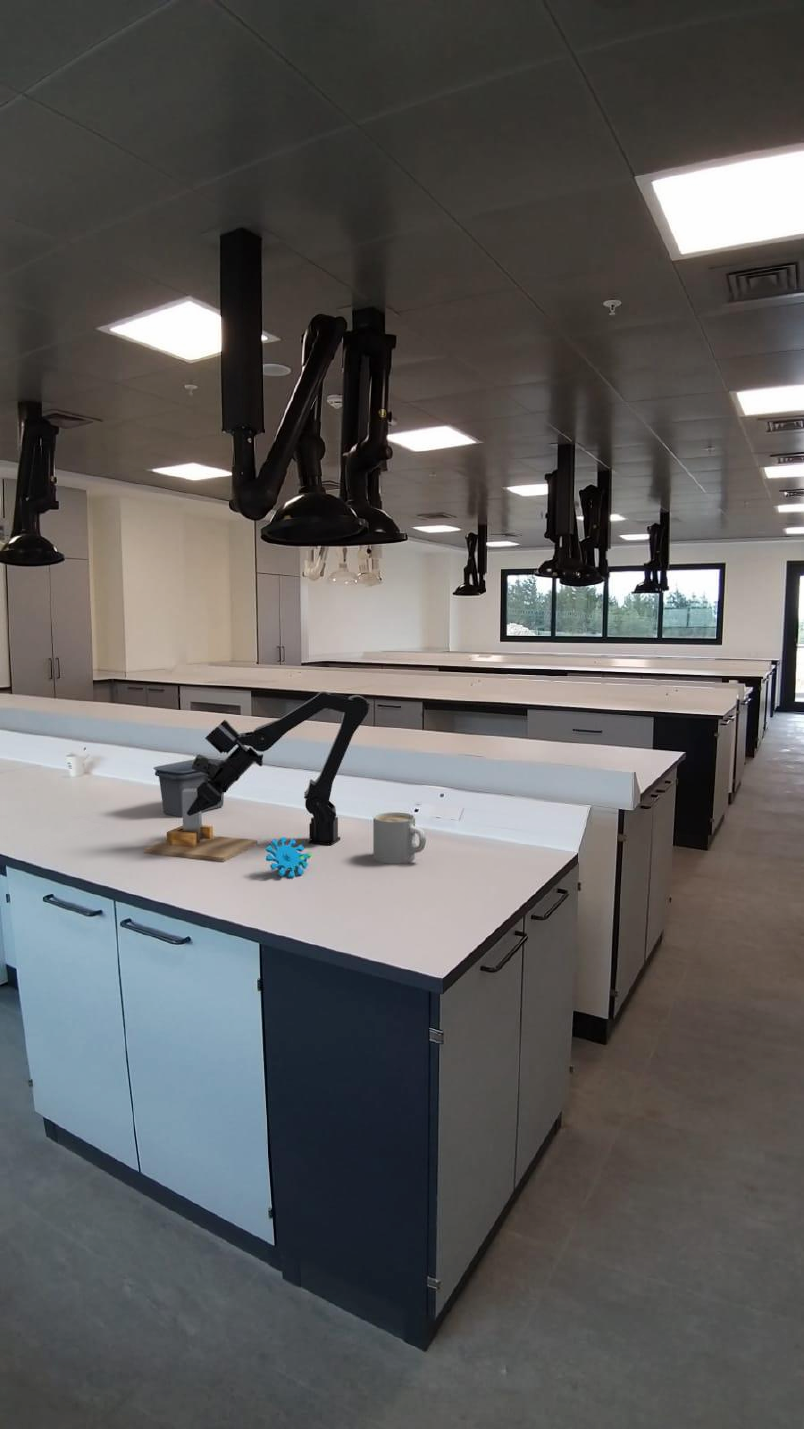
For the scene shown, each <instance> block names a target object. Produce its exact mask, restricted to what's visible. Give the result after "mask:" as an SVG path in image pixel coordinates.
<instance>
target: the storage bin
mask: <svg viewBox="0 0 804 1429" xmlns="http://www.w3.org/2000/svg"><path fill="white" fill-rule="evenodd" d="M208 758H209V759H212V760H214V761H216V762H218V763H220V762H221V761H222V760H223V761H224V760H225V759H219V758H212V757H208ZM194 760H195V758H194V759H188V760H183V761H176V762H174V763H173V762H172V763H167V764H164V765H156V766H154V767H153V770H155V772H154V776H155V777H158V779H159V781H158V782H159V787H160V794H161V802H162V809H163V813H164V814H165V815H169V816H173V817H178V818H183V805H182V792H183V791H184V789H197V788H198V786H199V785H200V784H201V783H202V782H203V781H204V779H205V777H206V776H207V775H208V774H205V773H203V772H200V771H198V770H194V769H192V768H191V767H192V765H193V762H194ZM221 791H222V790H221ZM224 794H225V793H223V798H222V800H221V801H220V802H219V803H218V804H217V805H215V806H213V807H210V808H208V809H205V810H203V811H202V813H203V812H207V811H211V810H215V809H218V808H221V807H223V806H224V799H225V798H224V797H225V795H224Z"/></svg>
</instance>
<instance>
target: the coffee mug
mask: <svg viewBox="0 0 804 1429" xmlns="http://www.w3.org/2000/svg"><path fill="white" fill-rule="evenodd" d="M372 827H373V839H372V840H373V843H372V844H373V848H372V849H373V852H372V855H373V860H374V861H376V862H379V863H383V864H388V865H389V864H391V865H399V864H400V865H401V864H406V863H410V862H412V861H414V860H415V858H416V855H415V854H417V853H421V852H422V851H424V849H425V847H426V843H427V840H426V839H427V838H426V834H425V831H424V830H423V829H422V828H421V827H418V826H416V816H415V815H414V814H411V813H407V812H401V811H389V812H381V813H377V814H375V815H374V816H373V826H372ZM416 834H417V836H418V837H419V838H418V839H419V840H418V841H419V843H418V845H417V844H416Z"/></svg>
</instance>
